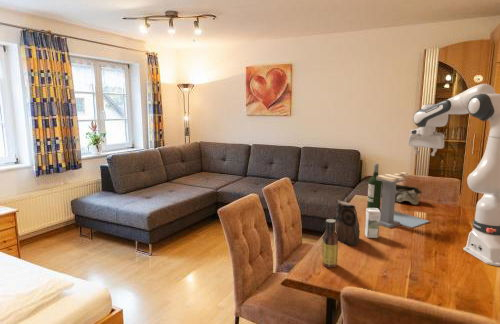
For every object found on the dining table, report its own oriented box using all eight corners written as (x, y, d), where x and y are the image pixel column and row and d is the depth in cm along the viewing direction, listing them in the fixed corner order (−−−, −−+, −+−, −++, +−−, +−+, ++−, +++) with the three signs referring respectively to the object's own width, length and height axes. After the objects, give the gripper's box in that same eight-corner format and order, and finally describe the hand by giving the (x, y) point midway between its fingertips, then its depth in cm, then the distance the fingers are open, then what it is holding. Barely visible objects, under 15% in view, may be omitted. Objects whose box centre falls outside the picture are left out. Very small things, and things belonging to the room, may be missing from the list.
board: (397, 174, 195) (397, 171, 195) (413, 177, 187) (413, 174, 187) (376, 178, 185) (376, 174, 184) (392, 181, 176) (392, 178, 176)
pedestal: (384, 219, 194) (387, 176, 190) (399, 224, 186) (403, 179, 182) (373, 222, 189) (376, 178, 185) (389, 228, 181) (392, 181, 176)
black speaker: (357, 247, 156) (359, 207, 153) (330, 243, 161) (332, 203, 158) (360, 238, 167) (362, 200, 164) (335, 234, 172) (336, 197, 169)
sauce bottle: (326, 260, 144) (327, 216, 140) (339, 264, 140) (341, 219, 136) (318, 265, 139) (320, 220, 135) (332, 270, 135) (334, 223, 131)
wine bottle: (364, 208, 216) (367, 162, 211) (374, 207, 218) (377, 162, 213) (372, 211, 208) (375, 165, 203) (382, 210, 211) (386, 164, 206)
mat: (392, 211, 210) (392, 210, 210) (429, 222, 190) (429, 221, 190) (374, 216, 200) (374, 215, 200) (411, 228, 180) (411, 227, 180)
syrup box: (375, 234, 172) (377, 207, 170) (378, 238, 166) (380, 211, 164) (364, 233, 173) (365, 207, 170) (367, 238, 167) (368, 210, 165)
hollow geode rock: (377, 204, 240) (373, 193, 230) (380, 190, 246) (377, 178, 236) (419, 210, 223) (418, 198, 213) (422, 194, 229) (421, 182, 219)
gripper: (447, 132, 189) (445, 156, 191) (413, 130, 206) (411, 152, 208) (442, 132, 185) (439, 157, 187) (407, 130, 202) (405, 153, 204)
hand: (424, 154), depth 198 cm, fingers open, 8 cm apart
